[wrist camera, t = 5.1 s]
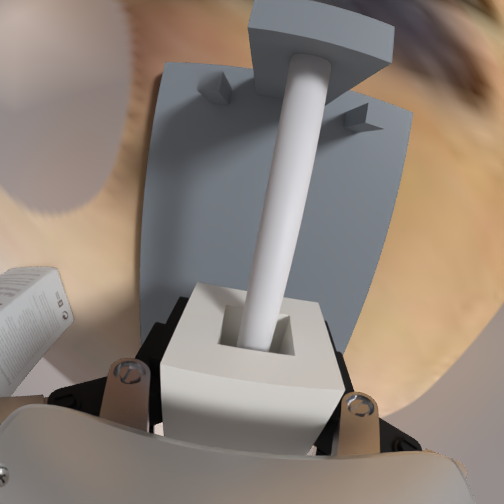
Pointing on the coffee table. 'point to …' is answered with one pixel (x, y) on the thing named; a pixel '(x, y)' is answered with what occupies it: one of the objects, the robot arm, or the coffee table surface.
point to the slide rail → (274, 172)
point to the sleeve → (248, 377)
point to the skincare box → (29, 320)
